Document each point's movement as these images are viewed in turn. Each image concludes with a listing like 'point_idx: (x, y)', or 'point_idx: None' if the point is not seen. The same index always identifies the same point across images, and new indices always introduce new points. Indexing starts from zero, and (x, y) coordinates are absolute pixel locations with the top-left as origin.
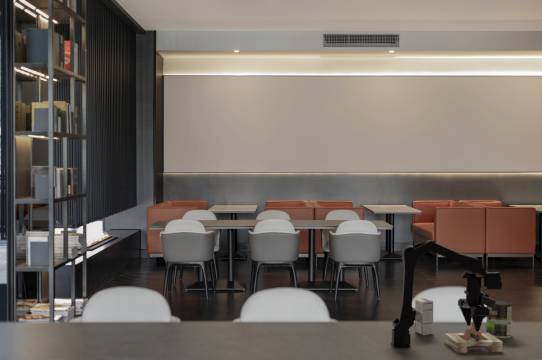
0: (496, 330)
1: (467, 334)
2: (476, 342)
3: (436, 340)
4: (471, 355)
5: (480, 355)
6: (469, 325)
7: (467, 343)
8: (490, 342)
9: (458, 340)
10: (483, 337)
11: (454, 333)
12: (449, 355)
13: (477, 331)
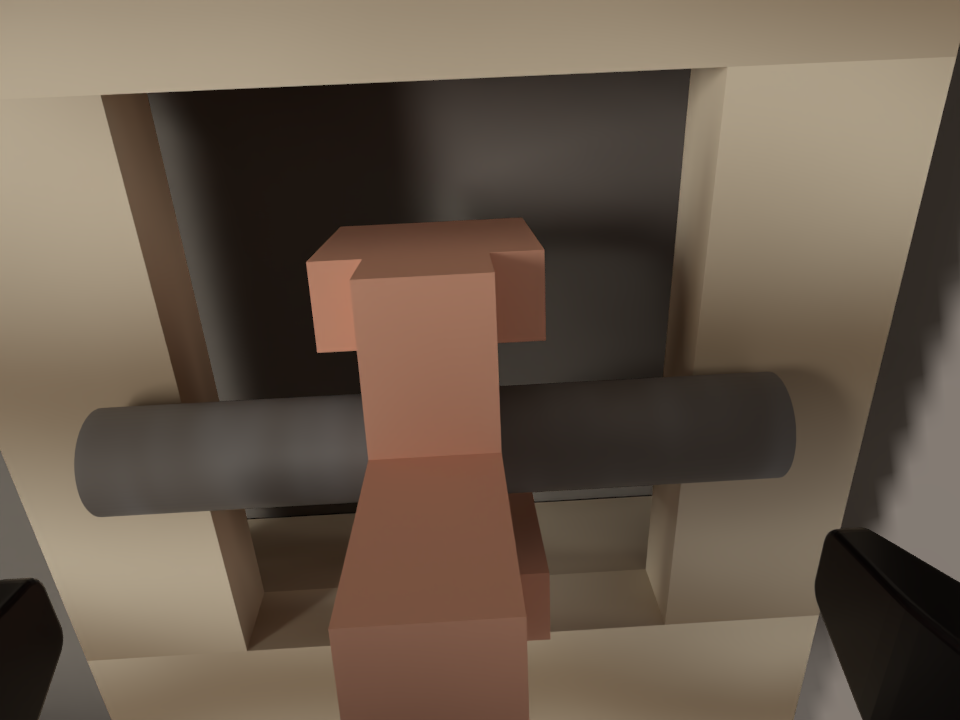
0: None
1: (549, 616)
2: (854, 454)
3: (74, 707)
4: (901, 468)
5: (944, 340)
6: (42, 596)
7: (808, 592)
8: (935, 119)
9: (660, 705)
10: (274, 83)
11: (122, 668)
12: (822, 701)
13: (498, 419)
